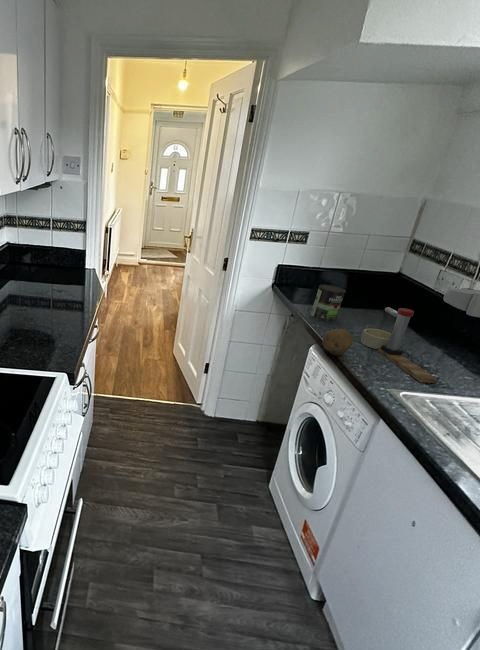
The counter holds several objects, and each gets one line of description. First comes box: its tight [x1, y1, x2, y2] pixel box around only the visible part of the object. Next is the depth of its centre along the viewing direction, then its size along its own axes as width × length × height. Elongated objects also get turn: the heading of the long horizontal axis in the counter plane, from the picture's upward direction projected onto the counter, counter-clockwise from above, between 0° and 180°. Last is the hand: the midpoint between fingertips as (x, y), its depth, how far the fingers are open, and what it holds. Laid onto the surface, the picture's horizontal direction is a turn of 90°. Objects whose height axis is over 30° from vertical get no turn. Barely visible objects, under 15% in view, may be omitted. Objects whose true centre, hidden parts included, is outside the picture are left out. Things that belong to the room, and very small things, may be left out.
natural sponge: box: [321, 328, 354, 356], centre depth 145 cm, size 9×9×10 cm
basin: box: [359, 327, 392, 350], centre depth 156 cm, size 10×10×5 cm
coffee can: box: [309, 284, 347, 323], centre depth 179 cm, size 10×10×14 cm
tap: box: [381, 306, 415, 356], centre depth 149 cm, size 12×5×16 cm, turn 179°
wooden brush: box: [377, 348, 438, 384], centre depth 141 cm, size 22×5×2 cm, turn 179°
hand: (464, 290), depth 121 cm, fingers closed
